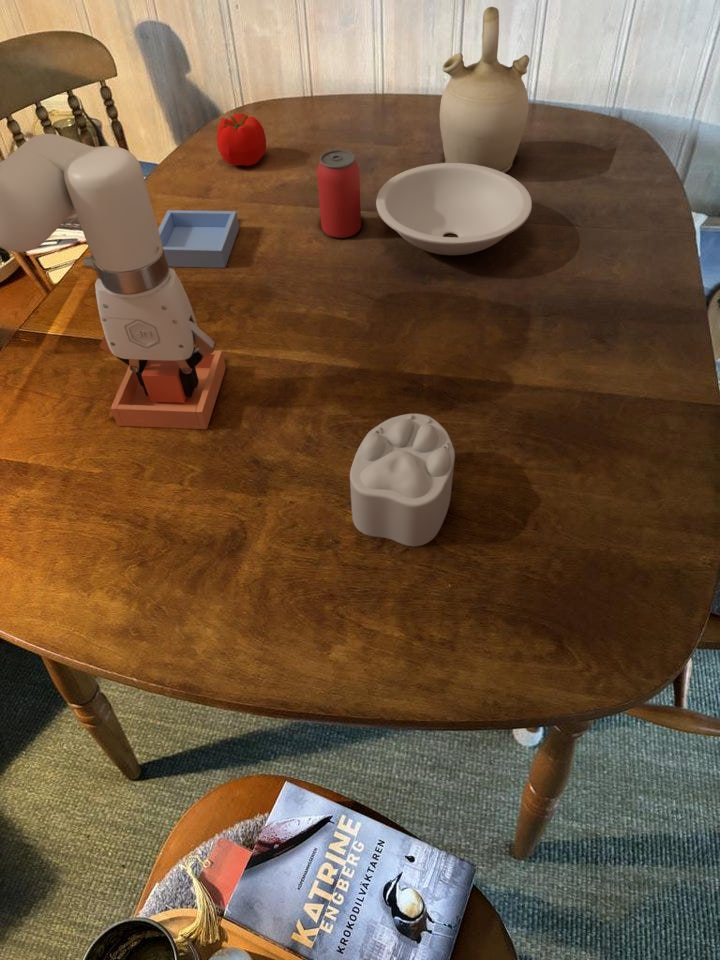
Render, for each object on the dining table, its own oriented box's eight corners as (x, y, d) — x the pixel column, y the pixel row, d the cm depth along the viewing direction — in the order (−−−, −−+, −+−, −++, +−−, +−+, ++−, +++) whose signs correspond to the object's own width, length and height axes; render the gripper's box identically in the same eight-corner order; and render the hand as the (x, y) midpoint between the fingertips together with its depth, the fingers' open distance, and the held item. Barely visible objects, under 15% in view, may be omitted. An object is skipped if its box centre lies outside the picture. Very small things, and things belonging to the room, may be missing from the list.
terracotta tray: (117, 425, 91) (110, 408, 89) (142, 365, 98) (136, 347, 96) (207, 429, 90) (202, 412, 88) (225, 368, 97) (221, 350, 95)
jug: (425, 176, 129) (431, 19, 110) (451, 139, 138) (461, -13, 119) (508, 190, 125) (530, 30, 106) (529, 150, 134) (553, -4, 115)
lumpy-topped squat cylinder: (342, 528, 79) (338, 478, 73) (379, 446, 87) (378, 393, 81) (433, 552, 77) (437, 502, 70) (462, 465, 85) (468, 413, 78)
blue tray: (153, 266, 114) (148, 249, 111) (171, 226, 121) (167, 209, 119) (225, 268, 113) (221, 250, 110) (239, 228, 120) (236, 210, 118)
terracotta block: (150, 401, 92) (141, 375, 89) (159, 378, 95) (151, 351, 92) (184, 402, 92) (176, 376, 88) (192, 379, 95) (185, 352, 91)
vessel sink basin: (538, 211, 121) (544, 173, 116) (509, 293, 106) (515, 253, 101) (401, 191, 126) (401, 154, 121) (356, 266, 112) (354, 228, 107)
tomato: (242, 145, 139) (235, 105, 134) (277, 157, 136) (272, 116, 130) (209, 165, 135) (200, 124, 129) (244, 177, 131) (237, 136, 125)
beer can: (350, 215, 122) (347, 144, 113) (368, 233, 118) (366, 161, 109) (315, 225, 120) (309, 154, 111) (331, 244, 116) (326, 172, 107)
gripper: (47, 285, 78) (99, 407, 92) (199, 289, 76) (229, 412, 90) (71, 247, 82) (117, 368, 96) (215, 249, 81) (241, 372, 95)
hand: (171, 388), depth 93 cm, fingers closed on terracotta block, 4 cm apart
